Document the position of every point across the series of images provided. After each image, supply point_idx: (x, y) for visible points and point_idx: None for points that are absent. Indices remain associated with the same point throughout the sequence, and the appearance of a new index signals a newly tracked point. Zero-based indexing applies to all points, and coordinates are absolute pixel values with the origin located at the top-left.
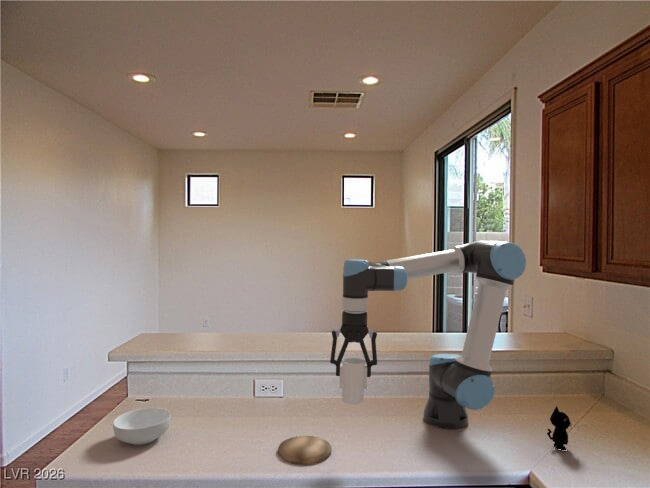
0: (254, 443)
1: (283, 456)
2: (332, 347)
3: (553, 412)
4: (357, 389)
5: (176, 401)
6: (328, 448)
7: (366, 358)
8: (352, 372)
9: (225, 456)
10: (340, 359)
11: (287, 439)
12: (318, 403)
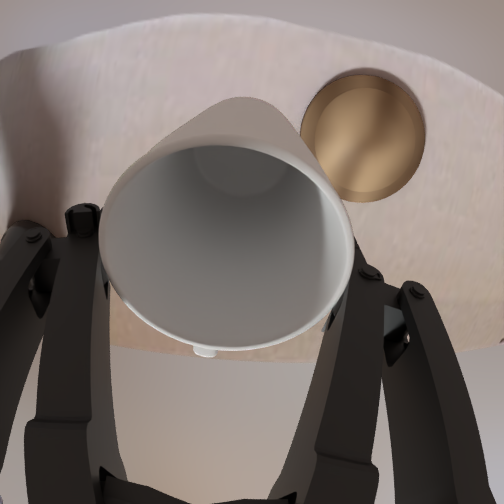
0: (450, 196)
1: (419, 112)
2: (467, 400)
3: None
4: (221, 104)
5: (481, 340)
6: (310, 126)
7: (78, 275)
8: (259, 120)
9: (496, 158)
10: (360, 302)
11: (396, 190)
12: (282, 344)
